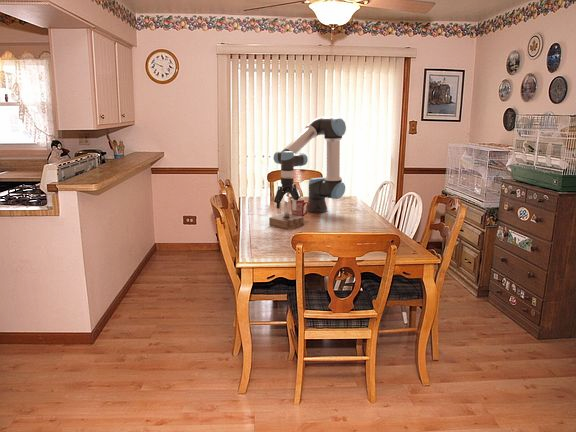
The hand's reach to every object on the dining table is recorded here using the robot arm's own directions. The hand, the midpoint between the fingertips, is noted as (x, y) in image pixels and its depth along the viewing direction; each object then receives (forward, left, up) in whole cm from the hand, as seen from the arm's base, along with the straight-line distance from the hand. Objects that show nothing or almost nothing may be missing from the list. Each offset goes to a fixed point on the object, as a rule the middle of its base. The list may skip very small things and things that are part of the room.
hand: (286, 211), depth 289 cm
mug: (-17, -4, -9) cm, 19 cm away
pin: (0, 0, -7) cm, 7 cm away
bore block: (0, 0, -8) cm, 8 cm away
